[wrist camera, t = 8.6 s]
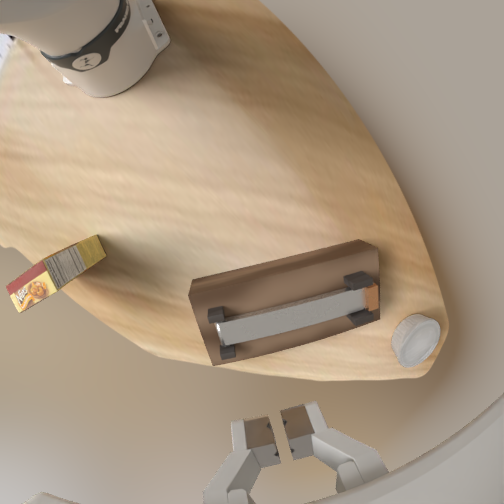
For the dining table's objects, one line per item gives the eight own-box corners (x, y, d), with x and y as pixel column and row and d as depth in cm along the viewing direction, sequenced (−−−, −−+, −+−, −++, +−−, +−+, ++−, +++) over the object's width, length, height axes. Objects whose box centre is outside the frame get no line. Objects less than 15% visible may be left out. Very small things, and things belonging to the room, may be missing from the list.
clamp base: (192, 279, 40) (185, 305, 32) (358, 239, 42) (389, 253, 33) (213, 344, 44) (212, 379, 35) (363, 304, 45) (389, 328, 36)
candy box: (70, 276, 38) (19, 316, 23) (59, 254, 37) (4, 286, 22) (108, 256, 38) (58, 293, 23) (96, 231, 37) (41, 258, 22)
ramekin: (400, 362, 51) (412, 375, 46) (377, 341, 48) (390, 355, 43) (433, 324, 49) (446, 335, 44) (414, 299, 47) (429, 310, 42)
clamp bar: (213, 318, 36) (213, 326, 33) (370, 278, 36) (377, 283, 34) (221, 343, 37) (221, 352, 35) (371, 303, 37) (378, 309, 35)
